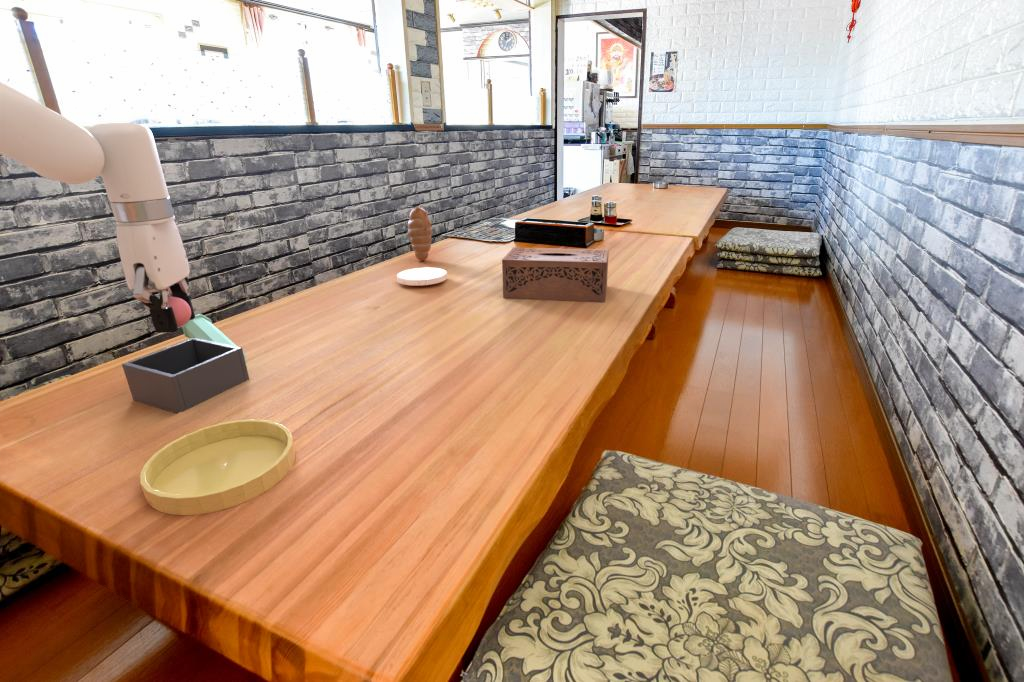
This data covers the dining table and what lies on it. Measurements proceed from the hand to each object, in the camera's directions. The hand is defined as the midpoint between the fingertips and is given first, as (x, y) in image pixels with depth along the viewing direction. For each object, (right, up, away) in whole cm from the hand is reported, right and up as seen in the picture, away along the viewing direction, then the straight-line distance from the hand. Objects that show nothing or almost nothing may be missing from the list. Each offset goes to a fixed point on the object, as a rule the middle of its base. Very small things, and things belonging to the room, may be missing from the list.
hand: (176, 324), depth 86 cm
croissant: (+25, +24, +90) cm, 96 cm away
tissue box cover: (+67, +10, +54) cm, 86 cm away
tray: (+18, -20, -18) cm, 32 cm away
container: (-4, -6, +19) cm, 21 cm away
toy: (0, 0, 0) cm, 0 cm away
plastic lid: (+29, +14, +65) cm, 73 cm away
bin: (0, -11, +4) cm, 12 cm away
